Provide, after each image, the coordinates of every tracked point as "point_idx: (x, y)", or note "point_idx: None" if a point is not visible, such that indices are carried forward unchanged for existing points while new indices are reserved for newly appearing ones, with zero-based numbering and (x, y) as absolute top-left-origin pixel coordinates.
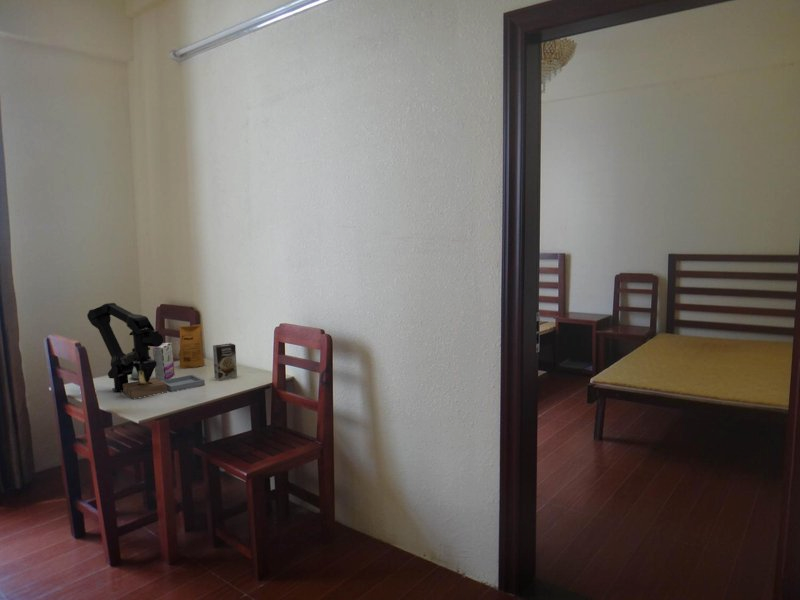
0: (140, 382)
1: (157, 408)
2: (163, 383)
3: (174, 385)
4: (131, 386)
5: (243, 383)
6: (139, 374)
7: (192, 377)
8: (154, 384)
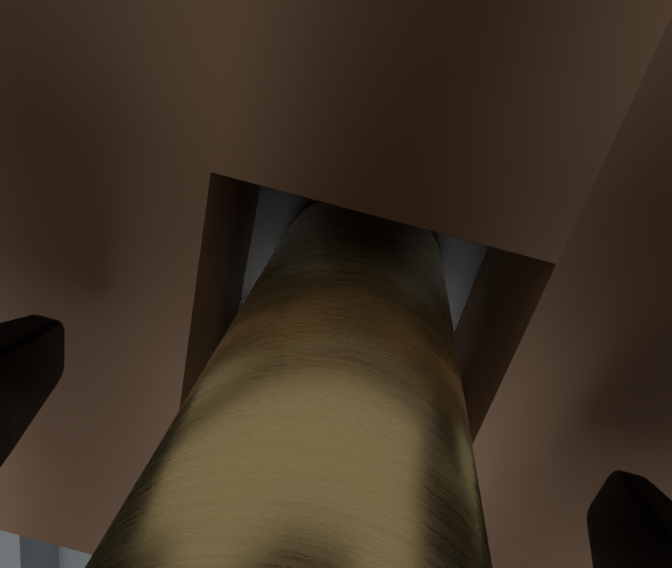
0: (302, 285)
1: None
2: (20, 509)
3: (12, 554)
4: (399, 15)
5: None
6: (257, 467)
7: None
8: (75, 409)
